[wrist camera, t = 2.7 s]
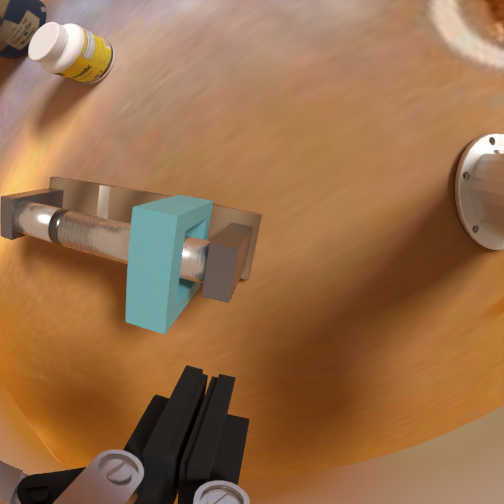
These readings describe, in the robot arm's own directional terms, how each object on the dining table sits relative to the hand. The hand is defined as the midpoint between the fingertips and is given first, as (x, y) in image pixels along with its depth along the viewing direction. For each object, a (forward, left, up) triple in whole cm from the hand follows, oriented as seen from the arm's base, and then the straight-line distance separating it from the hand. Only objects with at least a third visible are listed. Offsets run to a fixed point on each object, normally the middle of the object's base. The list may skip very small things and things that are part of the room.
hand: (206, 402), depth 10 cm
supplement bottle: (+22, -17, -22) cm, 35 cm away
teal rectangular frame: (+6, 0, -18) cm, 19 cm away
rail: (+13, 0, -21) cm, 25 cm away
